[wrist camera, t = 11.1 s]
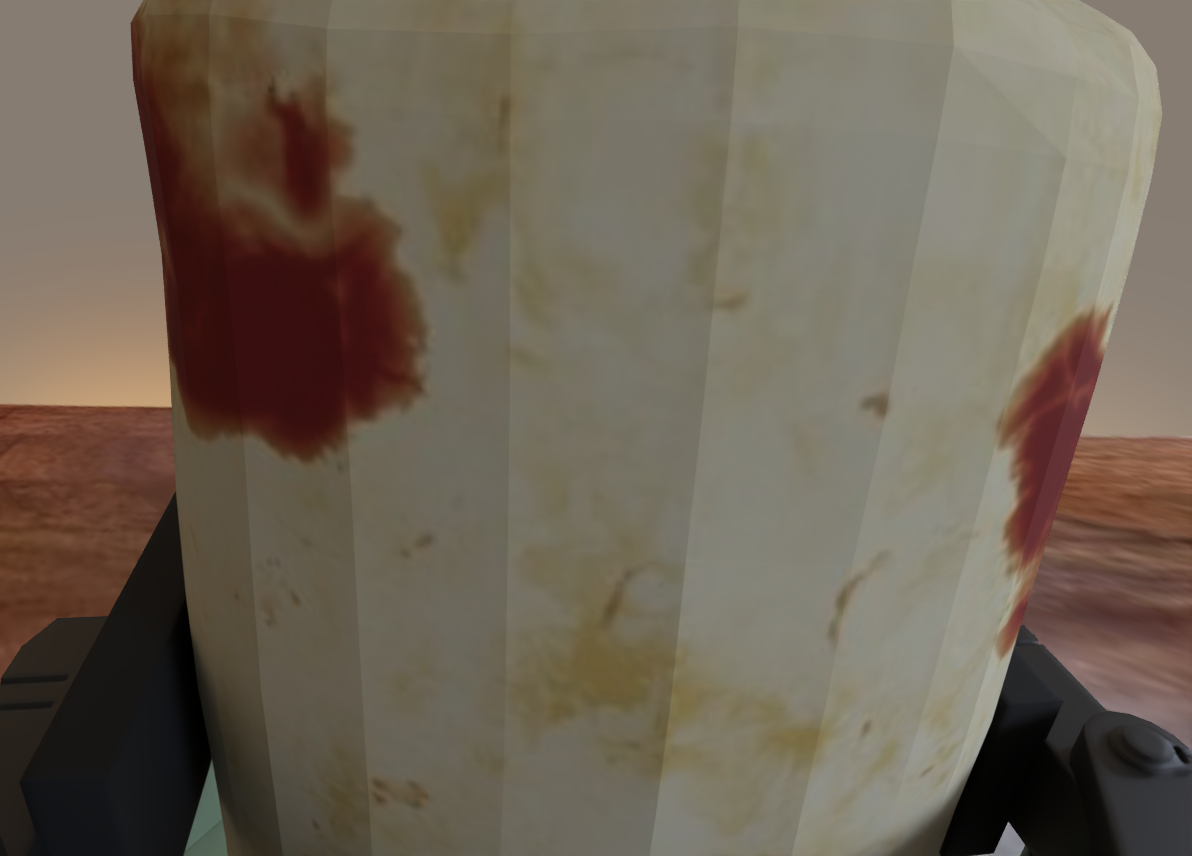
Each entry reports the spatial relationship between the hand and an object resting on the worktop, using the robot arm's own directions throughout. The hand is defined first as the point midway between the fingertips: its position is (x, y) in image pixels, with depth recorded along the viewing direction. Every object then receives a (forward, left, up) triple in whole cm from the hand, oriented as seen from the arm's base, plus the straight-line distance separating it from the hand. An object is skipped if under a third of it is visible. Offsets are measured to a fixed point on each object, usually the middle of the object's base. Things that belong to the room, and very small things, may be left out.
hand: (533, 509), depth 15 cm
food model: (+4, +2, -11) cm, 12 cm away
